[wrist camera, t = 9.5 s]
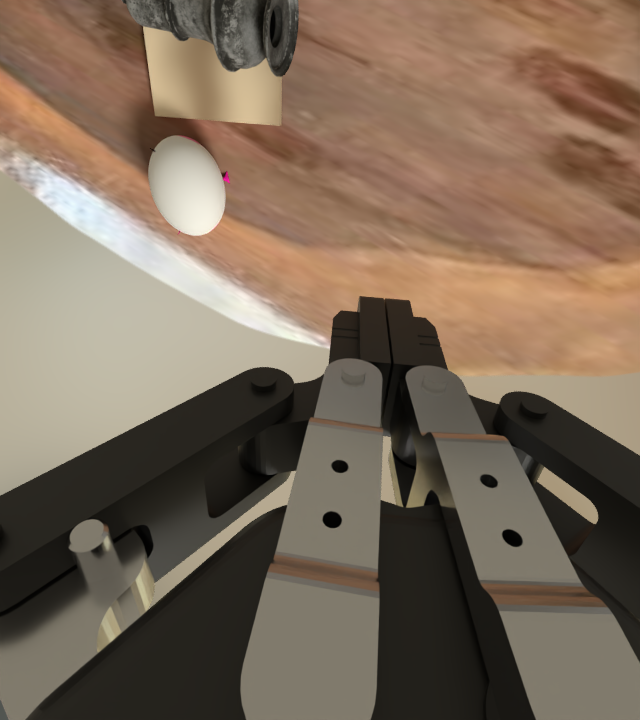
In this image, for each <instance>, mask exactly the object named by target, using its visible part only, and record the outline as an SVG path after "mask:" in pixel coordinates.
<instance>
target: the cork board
mask: <svg viewBox="0 0 640 720" xmlns="http://www.w3.org/2000/svg"><path fill="white" fill-rule="evenodd" d="M143 30H144V38H145V45H146V53H147V60H148V68H149V75H150V82H151V90H152V97H153V105H154V112H155V116H162V117H175V118H187V119H200V120H213V121H226V122H239V123H252V124H265V125H278V126H281V121H282V77H276V76H275V75H274V74H273V73H272V72H271V69H270V67H269V65H268V61H267V59H266V58H265V59H264V60H263V61H262V62H261V63H260V64H259V65H257V66H255V67H252V68H248V69H239V70H238V71H236V72H229V71H227V70H226V69H225V68H223V66H222V64H221V63H220V61H219V59H218V57H217V54H216V51H215V49H214V45H213V44H211V43H209V42H207V41H205V40H201V39H196V38H191V37H190V38H189V39H188V40H186V41H179V40H178V39H176V38H175V37H174V35H173V34H172V33H171V32H168V31H163V30H159V29H154V28H149V27H144V26H143Z"/></svg>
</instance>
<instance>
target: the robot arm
mask: <svg viewBox="0 0 640 720" xmlns="http://www.w3.org/2000/svg"><path fill="white" fill-rule="evenodd" d="M329 357H330V358H329V365H328V366H327V368H326V370H325V373H324V374H323V375H322V376H321V377H319V378H317V379H315V380H312V381H308V382H304V383H295V384H294V382H293V379H292V378H291V377H290V376H289V375H288V374H287V373H285V372H284V371H281V370H279V369H275V368H269V367H260V368H253V369H250V370H247V371H245V372H243V373H241V374H239V375H237V376H235V377H233V378H231V379H229V380H227V381H225V382H223V383H221V384H219V385H217V386H215V387H213V388H211V389H209V390H207V391H205V392H204V393H201V394H199V395H197V396H195V397H193V398H192V399H190V400H187V401H186V402H184V403H182V404H180V405H178V406H176V407H174V408H172V409H170V410H168V411H166V412H164V413H162V414H160V415H158V416H156V417H154V418H152V419H150V420H148V421H146V422H144V423H142V424H140V425H138V426H136V427H134V428H133V429H130V430H129V431H127V432H125V433H123V434H121V435H119V436H117V437H115V438H113V439H111V440H109V441H107V442H105V443H103V444H101V445H99V446H97V447H96V448H93V449H92V450H89V451H87V452H85V453H83V454H82V455H80V456H77V457H75V458H74V459H72V460H70V461H68V462H66V463H64V464H62V465H60V466H58V467H56V468H54V469H52V470H50V471H48V472H46V473H44V474H42V475H40V476H38V477H36V478H34V479H33V480H30V481H28V482H26V483H25V484H22V485H20V486H19V487H17V488H15V489H13V490H11V491H9V492H7V493H5V494H3V495H1V496H0V700H1V702H2V704H3V706H4V709H5V712H6V714H7V716H8V719H9V720H640V456H639V455H638V454H636V453H634V452H633V451H631V450H629V449H628V448H626V447H625V446H623V445H621V444H620V443H618V442H617V441H615V440H613V439H612V438H610V437H608V436H606V435H605V434H603V433H602V432H600V431H599V430H597V429H595V428H594V427H592V426H590V425H589V424H587V423H585V422H584V421H582V420H580V419H579V418H577V417H576V416H574V415H572V414H571V413H569V412H567V411H566V410H564V409H562V408H561V407H559V406H557V405H556V404H554V403H552V402H551V401H549V400H547V399H546V398H543V397H541V396H539V395H535V394H532V393H527V392H511V393H508V394H505V395H504V396H503V397H502V398H501V401H500V403H499V404H495V403H492V402H489V401H485V400H482V399H479V398H476V397H473V396H471V395H469V394H468V393H467V390H466V389H465V386H464V384H463V382H462V380H461V379H460V378H459V377H458V376H457V375H455V374H454V373H452V372H450V371H448V368H447V365H446V362H445V358H444V355H443V352H442V349H441V347H440V342H439V339H438V335H437V332H436V329H435V327H434V326H433V325H432V324H431V323H430V322H429V321H428V320H427V319H426V318H421V317H413V313H412V308H411V304H410V301H409V300H398V299H386V298H385V300H384V298H374V297H363V296H360V297H359V302H358V310H357V312H352V311H340V312H339V313H338V314H337V315H336V316H335V317H334V318H333V326H332V336H331V346H330V356H329ZM383 436H388V437H391V448H390V452H389V458H388V461H389V467H390V472H391V478H392V484H393V490H394V495H395V501H396V505H394V504H391V503H388V502H385V501H382V500H381V475H382V473H381V472H382V448H383ZM544 467H546V468H547V469H548V470H550V471H551V472H552V473H554V474H555V475H557V476H558V477H559V478H561V479H562V480H563V481H565V482H566V483H568V484H569V485H570V486H572V487H573V488H575V489H576V490H577V491H579V492H580V493H581V494H583V495H584V496H585V497H587V498H588V499H589V500H590V501H591V502H592V503H593V504H594V505H595V507H596V509H597V512H598V522H597V523H596V524H593V523H591V522H589V521H588V520H587V519H585V518H584V517H582V516H581V515H580V514H579V513H577V512H576V511H575V510H573V509H572V508H571V507H569V506H568V505H567V504H566V503H564V502H563V501H562V500H560V499H559V498H558V497H556V496H555V495H554V494H553V493H551V492H550V491H549V490H547V489H546V488H545V487H543V486H542V485H541V484H539V483H538V482H537V480H538V478H539V476H540V474H541V472H542V470H543V468H544ZM291 471H296V474H295V478H294V482H293V486H292V490H291V494H290V497H289V501H288V505H285V506H282V507H279V508H276V509H273V510H271V511H269V512H267V513H265V514H263V515H261V516H260V517H258V518H257V519H255V520H254V521H252V522H251V523H249V524H248V525H247V526H245V527H244V528H243V529H242V530H241V531H240V532H238V533H237V534H236V535H235V536H234V537H233V538H231V539H230V540H229V541H228V542H227V543H226V544H225V545H223V546H222V547H221V548H220V549H219V550H217V551H216V552H215V553H214V554H213V555H212V556H210V557H209V558H208V559H207V560H206V561H205V562H204V563H202V564H201V565H200V566H199V567H198V568H196V569H195V570H194V571H193V572H192V573H191V574H189V575H188V576H187V577H186V578H185V579H184V580H183V581H181V582H180V583H179V584H178V585H177V586H175V588H173V589H172V590H171V591H170V592H169V593H167V594H166V595H165V596H164V597H163V598H161V599H160V600H159V601H158V602H157V603H156V604H155V605H153V606H152V607H151V608H150V609H149V610H148V608H149V607H150V605H151V602H152V600H153V596H154V588H155V585H154V583H155V582H157V581H158V580H159V579H161V578H162V577H163V576H164V575H166V574H167V573H168V572H169V571H171V570H172V569H173V568H175V567H176V566H177V565H178V564H180V563H181V562H182V561H184V560H185V559H186V558H187V557H189V556H190V555H191V554H193V553H194V552H195V551H197V550H198V549H199V548H200V547H202V546H203V545H204V544H206V543H207V542H208V541H209V540H211V539H212V538H213V537H215V536H216V535H217V534H218V533H220V532H221V531H222V530H224V529H225V528H226V527H228V526H229V525H230V524H231V523H232V522H234V521H235V520H237V519H238V518H239V517H240V516H242V515H243V514H244V513H245V512H247V511H248V510H249V509H251V508H252V507H253V506H255V505H256V504H257V503H258V502H259V501H261V500H262V499H264V498H265V497H266V496H267V495H269V494H270V493H271V492H273V491H274V490H275V489H276V488H278V487H279V486H280V485H282V484H283V483H284V482H285V481H286V480H287V479H288V477H289V475H290V473H291Z"/></svg>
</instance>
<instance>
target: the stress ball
mask: <svg viewBox="0 0 640 720" xmlns="http://www.w3.org/2000/svg"><path fill="white" fill-rule="evenodd" d="M150 149H151V148H150ZM151 150H153V149H151ZM148 177H149V185H150V190H151V193H152V196H153V199H154V202H155V204H156V206H157V208H158V209H159V211H160V212H161V214H162V215H163V217H164V218H165V219H166V220H167V221H168V222H169V223H170V224H171V225H172V226H173V227H174V228H176V229H177V230H179V233H180V231H181V232H183V233H185V234H189V235H203V234H206V233H208V232H210V231H212V230H213V229H214V228H215V227H216V226H217V225H218V223H219V222H220V220H221V218H222V215H223V212H224V208H225V186H224V181H227V182H228V183H229V184H230V182H229V177H228V173H227V171H226V174H225V176H224V177H223V178H222V175H221V172H220V170H219V167H218V165H217V163H216V162H215V160H214V158H213V157H212V156H211V154H210V153H209V152H208V151H207V150H206V149H205V148H204V147H203V146H202V145H201V144H200V143H198V142H197V141H195V140H193V139H191V138H189V137H186V136H181V135H175V136H170V137H167V138H165V139H163V140H162V141H161V142H160V143H159V144H158V145H157V146H156V147H155V149H154V150H153V153H152V155H151V158H150V162H149V169H148ZM223 180H224V181H223ZM179 233H178V234H179Z"/></svg>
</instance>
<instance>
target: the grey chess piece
mask: <svg viewBox="0 0 640 720" xmlns="http://www.w3.org/2000/svg"><path fill="white" fill-rule="evenodd" d="M122 1H123V3H125V4H127V8H128V10H129V12H130V14H131V16H132V17H133V18H134V20H135V21H136V22H137V23H138V24H140V25H142V26H144V27H149V28H154V29H159V30H163V31H168V32H171V33H172V34H173V35H174V37H175V38H176V39H178V40H179V41H186V40H188V39H189V38H190V37H191V38H196V39H201V40H205V41H207V42H209V43H211V44H213V45H214V49H215V51H216V54H217V57H218V59H219V61H220V63H221V64H222V66H223V68H225V69H226V70H227V71H229V72H236V71H238V70H239V69H248V68H252V67H255V66H257V65H259V64H260V63H261V62H262V61H263V60H264V59H265V58H266V59H267V61H268V65H269V67H270V69H271V72H272V73H273V74H274V75H275V76H276V77H282V76H283V75H285V73H286V72H287V70H288V69H289V66H290V64H291V61H292V58H293V55H294V51H295V46H296V40H297V32H298V16H299V12H298V0H122Z"/></svg>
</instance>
